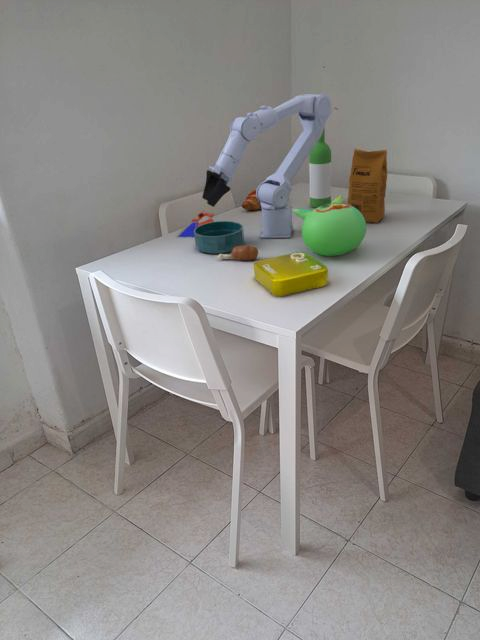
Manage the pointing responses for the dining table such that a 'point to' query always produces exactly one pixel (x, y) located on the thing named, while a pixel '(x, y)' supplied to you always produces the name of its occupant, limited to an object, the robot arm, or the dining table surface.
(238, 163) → the robot arm
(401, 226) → the dining table surface
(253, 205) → the croissant
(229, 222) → the teal mixing bowl
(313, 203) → the wine bottle
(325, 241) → the green teapot
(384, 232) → the dining table surface
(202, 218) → the fish
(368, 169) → the coffee package
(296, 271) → the element tile
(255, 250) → the drumstick
